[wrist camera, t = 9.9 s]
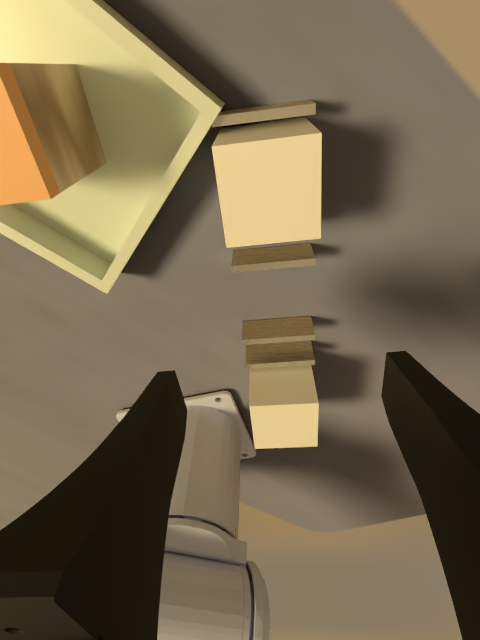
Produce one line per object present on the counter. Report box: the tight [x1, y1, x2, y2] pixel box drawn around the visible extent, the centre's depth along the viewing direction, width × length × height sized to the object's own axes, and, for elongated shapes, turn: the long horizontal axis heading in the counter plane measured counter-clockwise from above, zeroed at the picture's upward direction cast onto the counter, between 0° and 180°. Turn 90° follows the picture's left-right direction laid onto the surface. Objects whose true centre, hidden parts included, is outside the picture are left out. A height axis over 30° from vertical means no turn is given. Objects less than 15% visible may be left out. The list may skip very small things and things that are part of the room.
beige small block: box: [249, 365, 319, 449], centre depth 24 cm, size 4×4×5 cm
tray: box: [0, 0, 225, 294], centre depth 16 cm, size 12×11×2 cm
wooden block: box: [0, 63, 106, 205], centre depth 14 cm, size 4×4×6 cm
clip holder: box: [212, 100, 316, 369], centre depth 21 cm, size 19×4×2 cm, turn 7°
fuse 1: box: [212, 117, 322, 248], centre depth 16 cm, size 4×4×5 cm
